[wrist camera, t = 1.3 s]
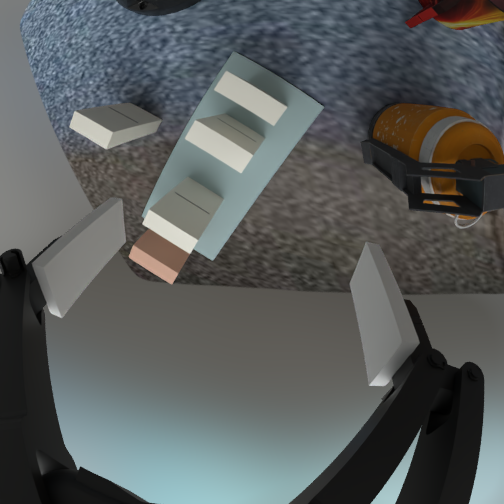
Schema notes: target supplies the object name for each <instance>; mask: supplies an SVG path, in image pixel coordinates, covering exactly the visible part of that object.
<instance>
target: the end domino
mask: <svg viewBox="0 0 504 504" xmlns="http://www.w3.org/2000/svg"><path fill="white" fill-rule="evenodd" d="M189 255H190V254H189V253H187V252H186V251H184V250H183V249H181V248H179V247H178V246H176V245H175V244H173V243H171V242H170V241H168V240H167V239H165V238H163V237H162V236H160V235H159V234H157V233H156V232H154V231H152V230H151V229H148V230H147V231H146V232H145V233H144V234H143V236H142V237H141V238H140V239H139V240H138V241H137V242H136V243H135V244H134V245H133V248H132V250H131V253H130V255H129V258H130V259H132V260H133V261H135V262H137V263H138V264H140V265H141V266H143V267H144V268H146V269H147V270H149V271H151V272H152V273H154V274H155V275H157V276H159V277H160V278H162V279H163V280H165V281H167V282H168V283H170V284H172V283H173V282H174V280H175V278H176V277H177V275H178V273H179V271H180V270H181V268H182V266H183V265H184V263H185V261H186V260H187V258H188V256H189Z"/></svg>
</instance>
